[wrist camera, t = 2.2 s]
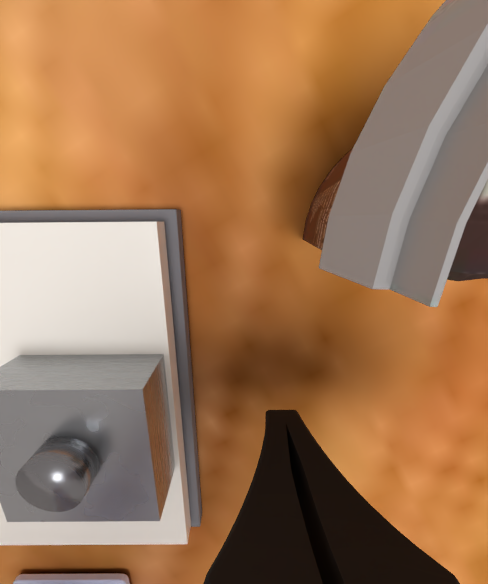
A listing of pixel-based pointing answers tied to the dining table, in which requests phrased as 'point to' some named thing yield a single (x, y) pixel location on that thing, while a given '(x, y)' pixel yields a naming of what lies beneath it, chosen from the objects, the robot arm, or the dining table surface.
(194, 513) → the susan base
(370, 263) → the food container
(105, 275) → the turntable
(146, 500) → the cover
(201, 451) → the dining table surface
